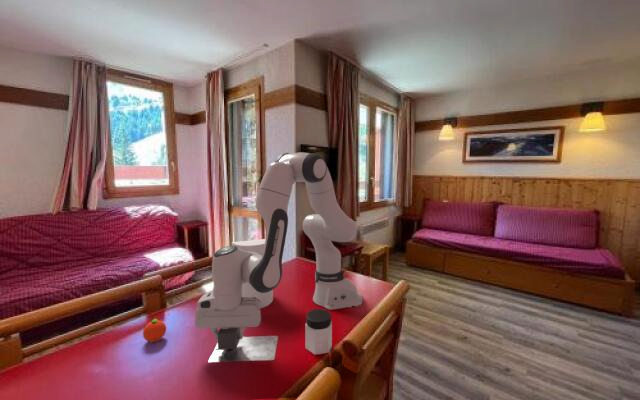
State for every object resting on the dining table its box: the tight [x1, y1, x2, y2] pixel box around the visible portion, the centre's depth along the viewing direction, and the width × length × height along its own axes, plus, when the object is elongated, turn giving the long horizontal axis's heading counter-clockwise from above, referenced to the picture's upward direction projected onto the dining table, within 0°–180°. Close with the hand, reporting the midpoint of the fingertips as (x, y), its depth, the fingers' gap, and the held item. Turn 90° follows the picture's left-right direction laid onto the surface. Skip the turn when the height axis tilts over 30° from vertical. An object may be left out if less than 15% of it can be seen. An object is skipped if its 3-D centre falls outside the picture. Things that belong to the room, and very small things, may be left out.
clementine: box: [142, 318, 167, 343], centre depth 95 cm, size 8×7×7 cm
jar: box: [304, 308, 333, 356], centre depth 90 cm, size 9×8×12 cm
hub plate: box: [207, 335, 279, 363], centre depth 89 cm, size 20×12×4 cm, turn 93°
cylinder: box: [231, 238, 274, 309], centre depth 122 cm, size 17×17×28 cm
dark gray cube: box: [217, 327, 241, 349], centre depth 88 cm, size 6×6×6 cm
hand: (229, 338), depth 88 cm, fingers closed on dark gray cube, 6 cm apart
